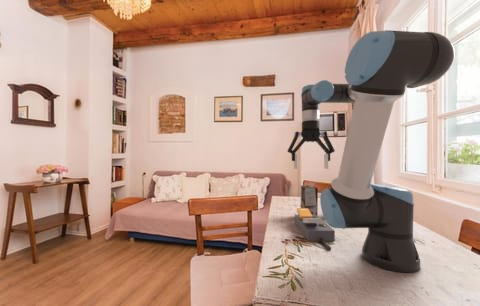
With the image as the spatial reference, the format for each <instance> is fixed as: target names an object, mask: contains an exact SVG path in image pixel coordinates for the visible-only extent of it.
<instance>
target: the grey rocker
mask: <svg viewBox="0 0 480 306" xmlns="http://www.w3.org/2000/svg"><path fill="white" fill-rule="evenodd" d="M303 222H305V223H321V222H320V219H317V218H303Z"/></svg>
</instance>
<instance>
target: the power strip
mask: <svg viewBox="0 0 480 306" xmlns="http://www.w3.org/2000/svg"><path fill="white" fill-rule="evenodd" d="M312 216H313V218H317V219H320V222H321V223H305V222H303V220H301V219H300V217H299V215H298V214H294V224H295V225H296V226H297V228H298V230H299V231H300V232H301V233H302V235H303V236H304V238H305V239H306V240H307V242H321V243H322V245H323V246H324V247H325V248H326V249H327V250H328V251H331V250H332V247H331V246H330V245H329V244H328V243H327V242H335V240H336V239H335V238H336V237H335V236H336V235H335V234H336V233H335V232H336V231H335V229H334V228H333V227H331V226H330V225H328V223H327V222H326V221H324V220H323V219H322V218H320V217H319V216H318V215H312Z"/></svg>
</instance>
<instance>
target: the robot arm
mask: <svg viewBox="0 0 480 306" xmlns="http://www.w3.org/2000/svg"><path fill="white" fill-rule="evenodd" d="M455 54H456V52H455V47H454V45H453V43H452V42H451V41H450V40H449V38H448V37H446V36H445V35H443V34H440V33H438V32H432V31H407V30H389V29H388V30H387V29H385V30H377V31H375V30H373V31H369V32H367V33H365V34H363V35H362V36H361V37H359V39H357V41H356V43H354V45H353V46H352V48H351V50H350V51H349V54H348V56H347V59H346V61H345V67H344V73H345V74H344V78H345V80H346V82H347V83H332V81H331V82H330V81H329V80H326V79H324V80H320V81H318V82H316V83H314V84H307V85H305V86H303V87H302V88H301V93H300V94H301V95H300V98H301V121H302V122H301V132H300V131H295V132H294V136H293V139H292V141H291V143H290V145H289V147H288V149H287V153H289V154H291V161H292V162H293V169H295V170H296V169H297V170H298V153H297V152H298V151H299V149H300V148H301V147H302V146H303V145H304V143H305V142H306V143H309V142H311V143H313V142H316V143H317V145H318V146H319V147H320V148H321V149H322V150H323V151H324V153H323V156H324V157H323V159H324V161H323V163H324V165H323V168H324V169H325V170H327V169H328V170H329V162H330V161H331V154H332V153H334V152H335V151H336V150H335V149H334V146H333V144H332V143H331V141H330V139H329V137H328V132H327V131H320V104H322V103H323V104H328V103H329V104H338V103H339V104H340V103H341V104H342V103H343V104H353V107H352V113H351V117H350V122H349V125H348V130H347V135H346V138H345V144H344V147H343V153H342V157H341V162H340V166H339V172H338V174H337V175H338V176H337V177H335V178H333V179H332V180H331V183H330V185H329V189H328V188H326V189H323V190H322V191H321V192H320V196H319V199H320V200H319V202H320V203H319V204H320V209H321V212H322V215H323V219H324V220H325V223H326V224H327V225H329V226H330V227H331V228H332V229H343V230H346V229H368V232H367V234H366V237H365V240H364V242H363V245H362V246H361V247H362V248H361V256H362V258H363V259H364V260H365V261H367V262H368V263H370V264H371V265H374V266H376V267H377V268H380V269H383V270H387V271H392V272H397V273H416V272H418V271H419V270H421V257H420V255H419V253H418V250H417V246H416V244H415V242H414V241H415V240H414V206H415V204H414V195H413V193H412V191H410V190H409V189H407V188H402V187H396V186H391V185H384V184H377V183H372V179H373V176H374V174H375V173H374V172H375V170H376V166H377V163H378V159H379V157H380V156H379V155H380V152H381V148H382V145H383V142H384V138H385V135H386V131H387V129H388V124H389V121H390V117H391V114H392V111H393V110H392V109H393V107H394V104H395V102H396V101H397V100H398V99H400V98H403V97H404V95H405V92H406V89H415V88H419V87H423V86H426V85H430V84H433V83H436V82H437V81H439V80H440V79H442V78H443V77H444V76H445V75H446V74H447V73H448V72H449V70H451V67H452V66H453V63H454V60H455ZM300 136H301V138H302V139H301V140H300V141H299V143H297V145H296V142H297V140H299V139H298V138H299V137H300ZM320 136H321V138H322V139H323V141H324V142H323V141H322V140H321V138H320ZM324 143H325V144H326V145H325V144H324ZM295 145H296V146H295Z"/></svg>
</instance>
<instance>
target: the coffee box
mask: <svg viewBox="0 0 480 306" xmlns="http://www.w3.org/2000/svg"><path fill="white" fill-rule="evenodd" d="M318 190H319V188H318V187H316V186H315V185H300V208H308V209H309V211H310V213H311V214H312V215H317V216H318V209H319V208H318V206H319V205H318V196H319V195H318V194H319V193H318V192H319V191H318Z"/></svg>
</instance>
